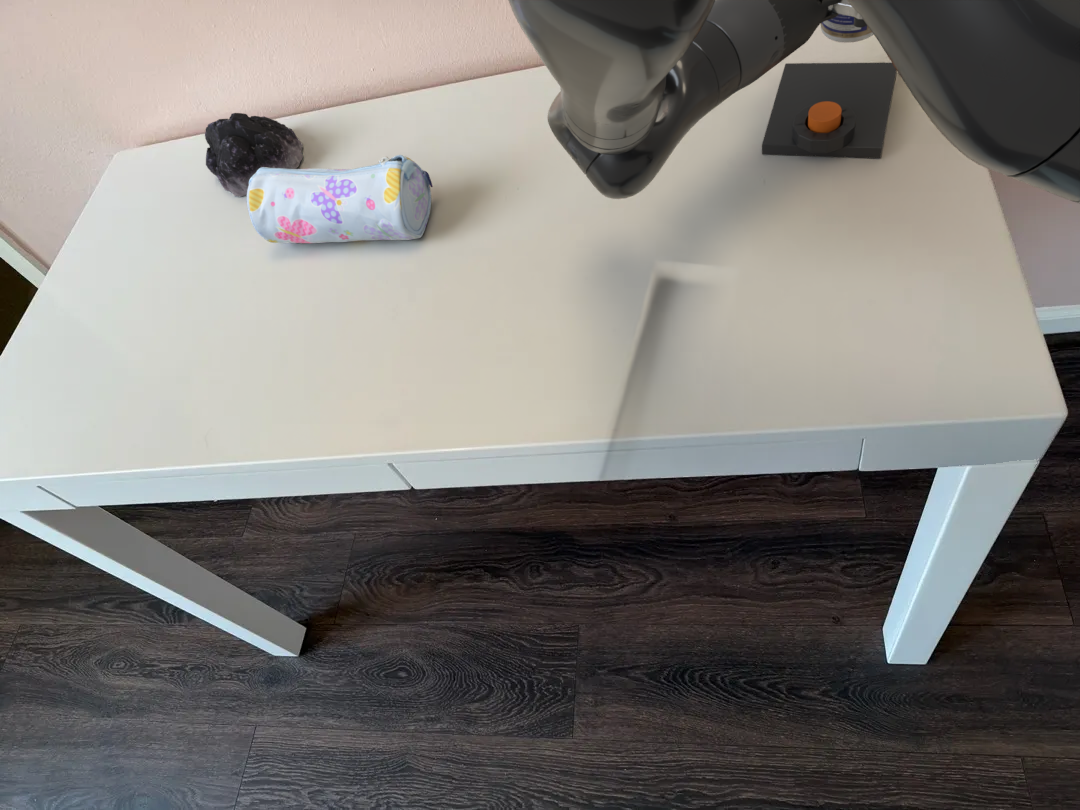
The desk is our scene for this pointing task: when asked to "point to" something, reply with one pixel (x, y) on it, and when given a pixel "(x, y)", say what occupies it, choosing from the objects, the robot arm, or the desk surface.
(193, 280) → the desk surface
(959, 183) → the desk surface
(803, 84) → the scale
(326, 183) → the pencil case
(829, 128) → the button
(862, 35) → the pill bottle
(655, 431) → the desk surface
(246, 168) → the crystal cluster
